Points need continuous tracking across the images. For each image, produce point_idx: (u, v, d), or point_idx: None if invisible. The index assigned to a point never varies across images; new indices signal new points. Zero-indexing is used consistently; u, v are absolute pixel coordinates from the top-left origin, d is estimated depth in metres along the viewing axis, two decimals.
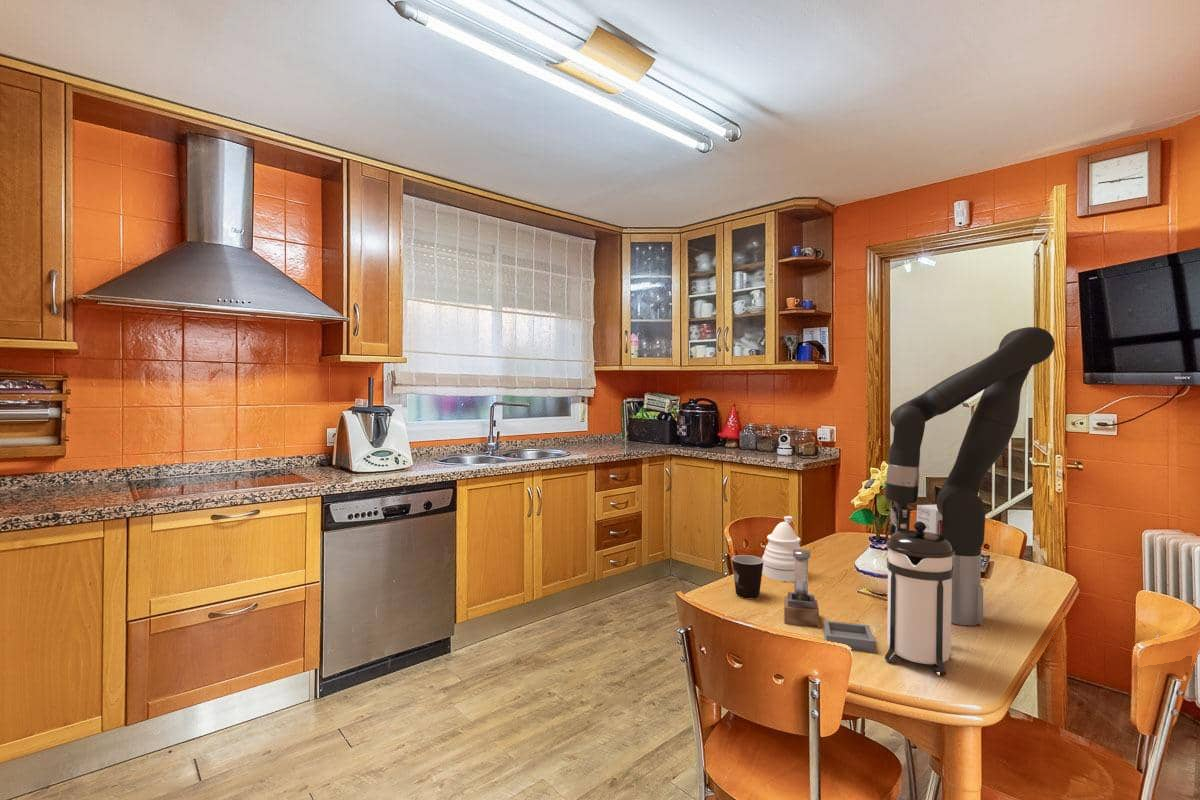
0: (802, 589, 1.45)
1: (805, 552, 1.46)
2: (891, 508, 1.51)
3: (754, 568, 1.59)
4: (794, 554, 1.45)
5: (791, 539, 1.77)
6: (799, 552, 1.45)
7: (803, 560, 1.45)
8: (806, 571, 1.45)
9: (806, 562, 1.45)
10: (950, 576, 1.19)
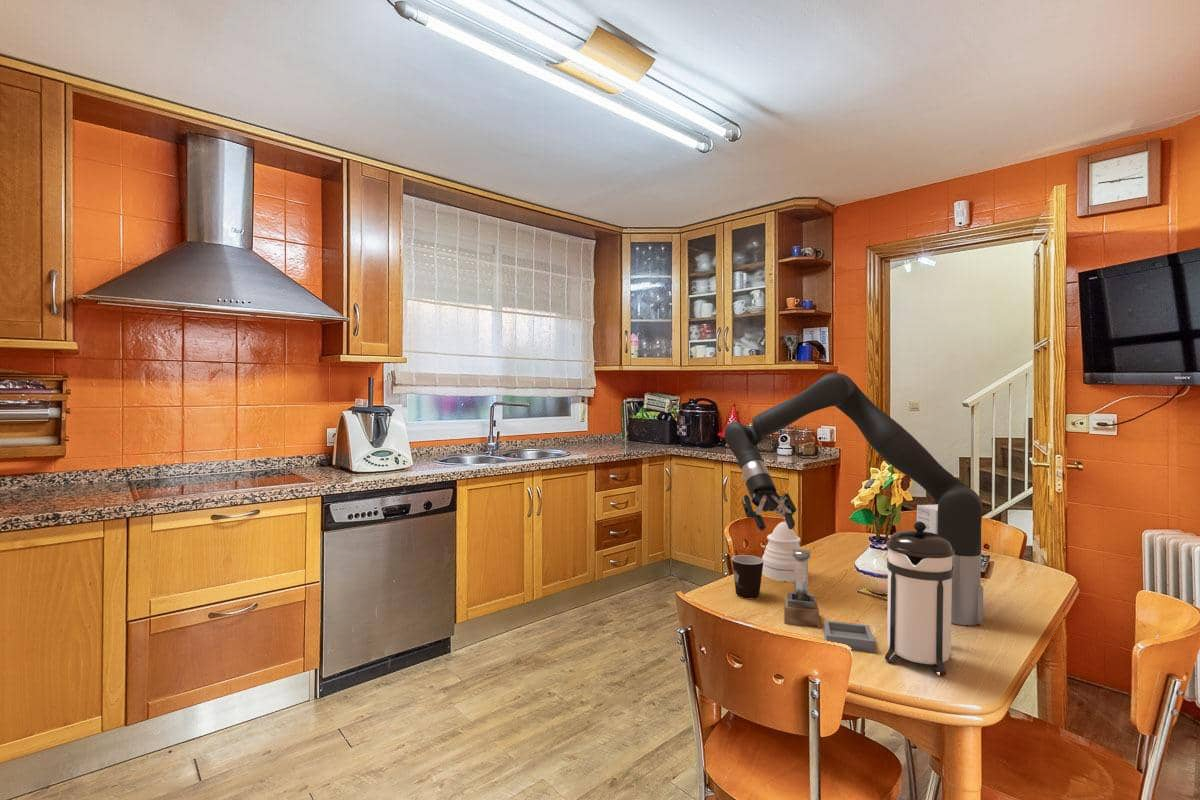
0: (801, 589, 1.45)
1: (805, 552, 1.46)
2: None
3: (754, 568, 1.59)
4: (794, 554, 1.45)
5: (791, 539, 1.77)
6: (799, 552, 1.45)
7: (803, 560, 1.45)
8: (806, 571, 1.45)
9: (806, 562, 1.45)
10: (950, 576, 1.19)
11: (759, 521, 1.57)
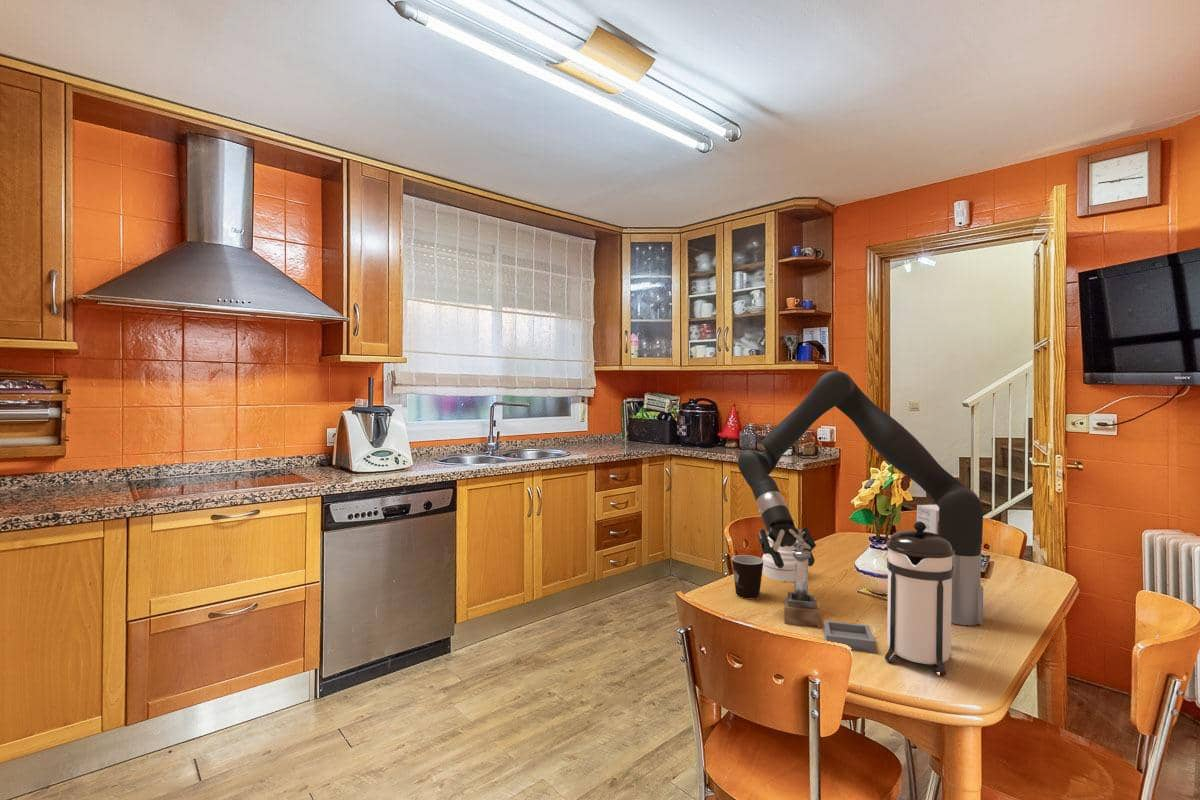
0: (801, 589, 1.45)
1: (805, 552, 1.46)
2: None
3: (754, 568, 1.59)
4: (794, 554, 1.45)
5: None
6: (799, 552, 1.45)
7: (803, 560, 1.45)
8: (806, 571, 1.45)
9: (806, 562, 1.45)
10: (950, 576, 1.19)
11: (777, 558, 1.48)
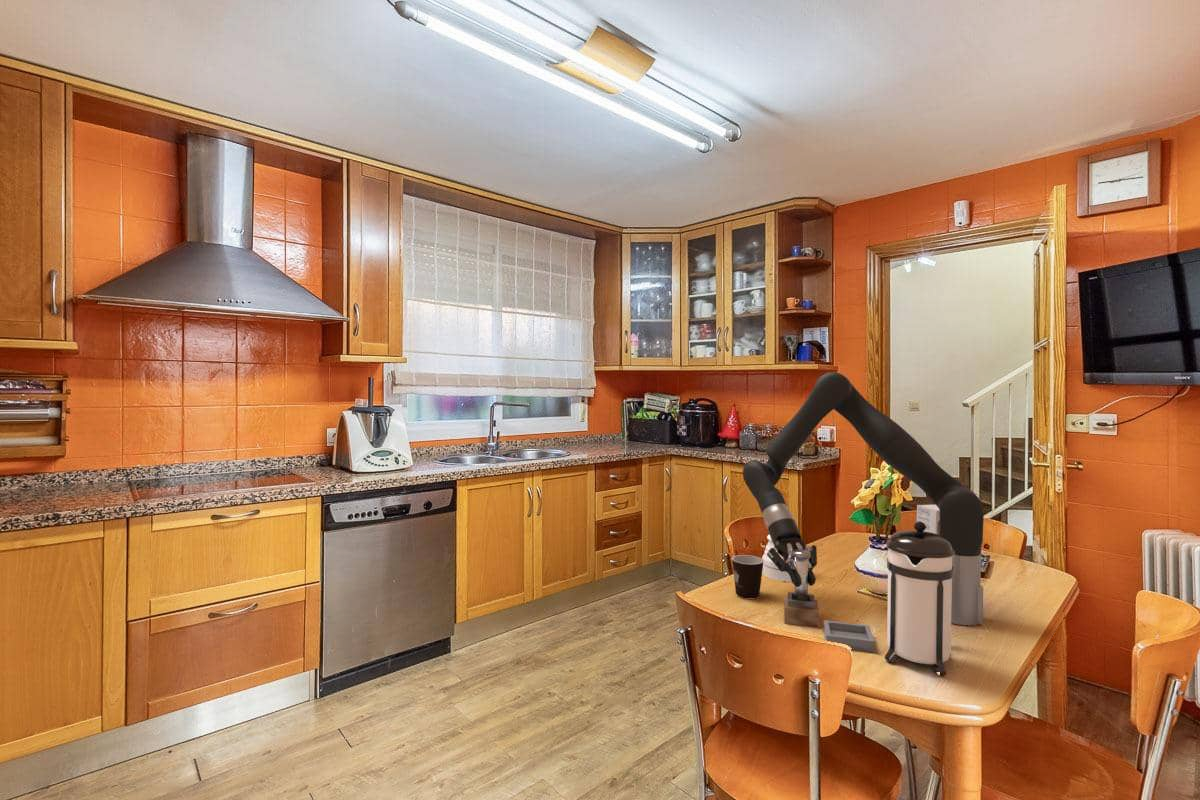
0: (801, 589, 1.45)
1: (805, 552, 1.46)
2: None
3: (754, 568, 1.59)
4: (794, 554, 1.45)
5: None
6: (799, 552, 1.45)
7: (803, 560, 1.45)
8: (806, 571, 1.45)
9: (806, 562, 1.45)
10: (950, 576, 1.19)
11: (794, 576, 1.45)
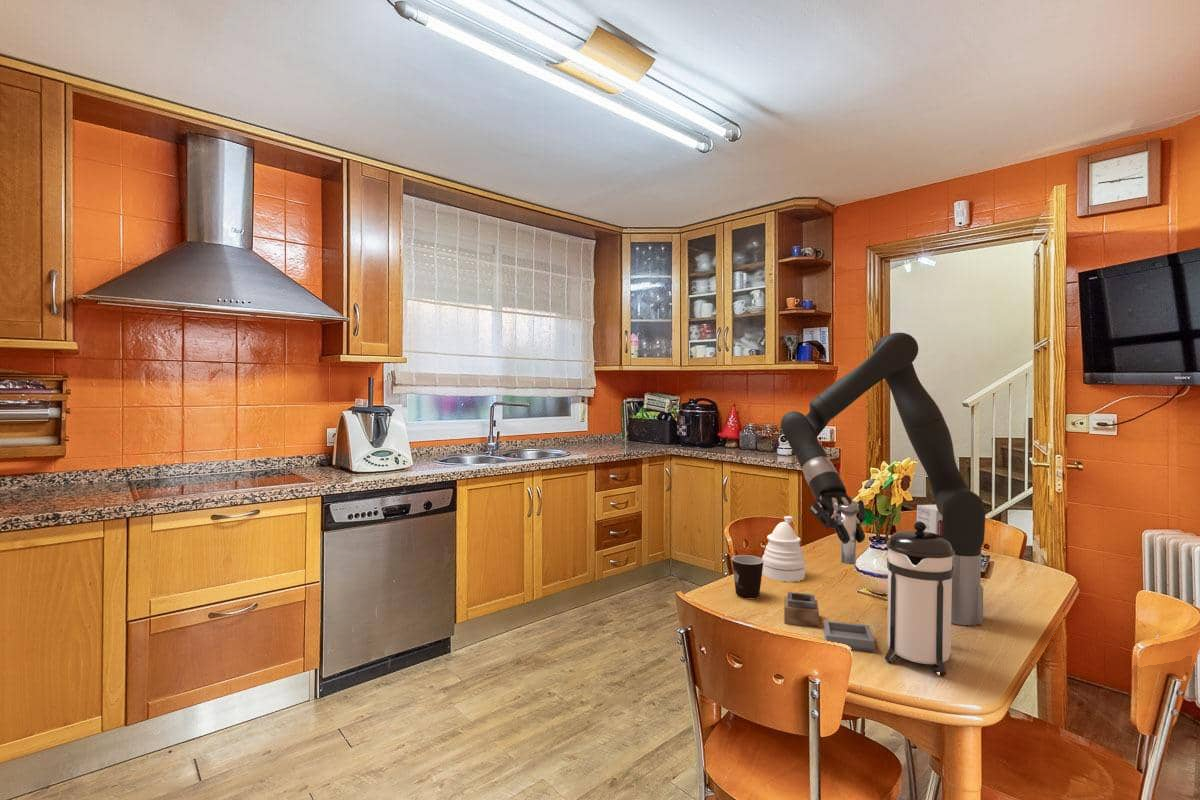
0: (849, 546, 1.32)
1: (852, 505, 1.33)
2: None
3: (754, 568, 1.59)
4: (841, 508, 1.33)
5: (791, 539, 1.77)
6: (846, 506, 1.33)
7: (851, 514, 1.32)
8: (854, 526, 1.32)
9: (854, 516, 1.32)
10: (950, 576, 1.19)
11: (841, 532, 1.32)
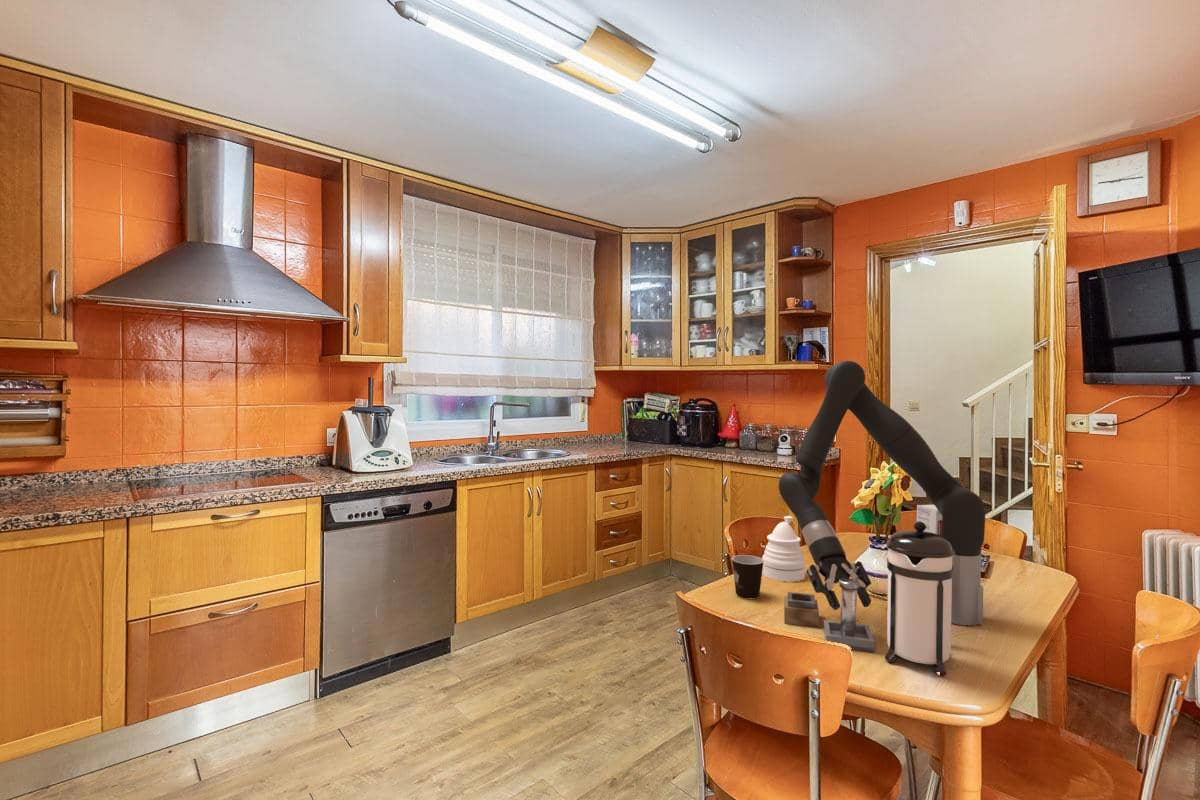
0: (849, 622, 1.32)
1: (853, 582, 1.33)
2: None
3: (754, 568, 1.59)
4: (842, 584, 1.33)
5: (791, 539, 1.77)
6: (847, 582, 1.33)
7: (851, 591, 1.32)
8: (854, 603, 1.32)
9: (854, 593, 1.32)
10: (950, 576, 1.19)
11: (832, 598, 1.32)
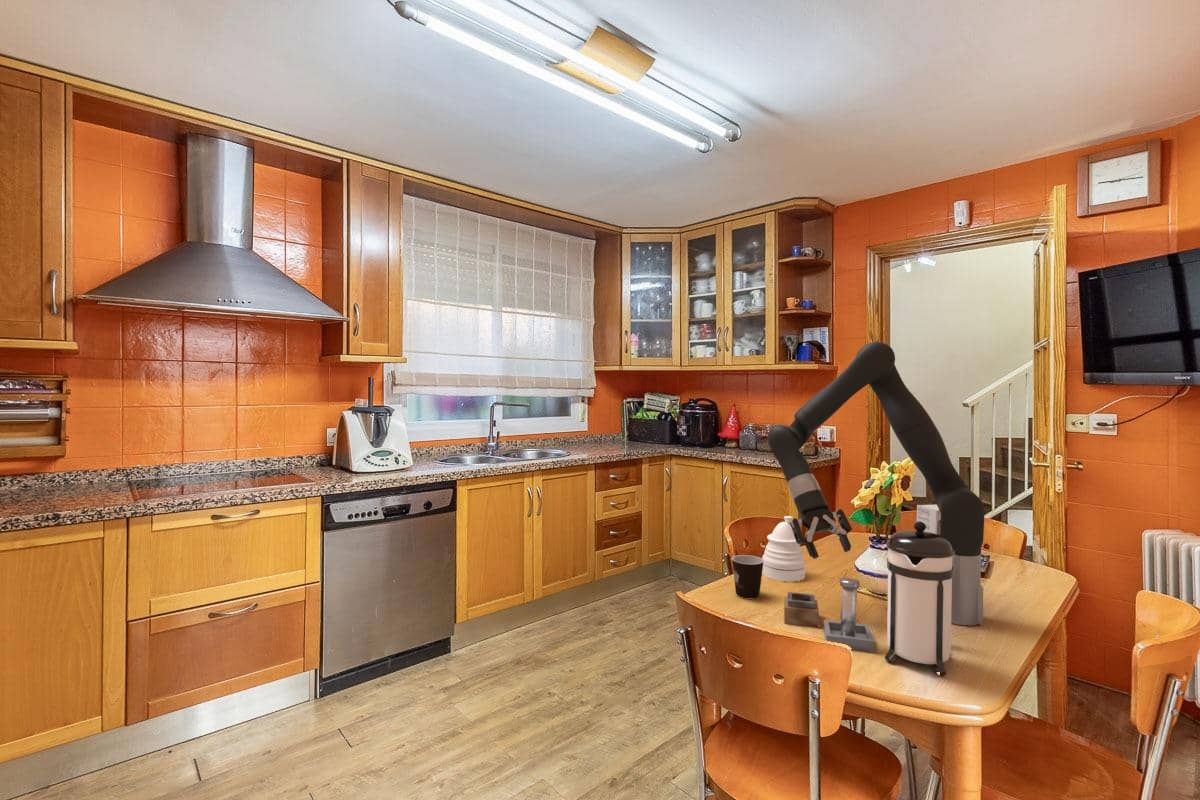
0: (849, 622, 1.33)
1: (853, 581, 1.34)
2: None
3: (754, 568, 1.59)
4: (842, 583, 1.33)
5: (791, 539, 1.77)
6: (847, 581, 1.33)
7: (852, 590, 1.32)
8: (855, 602, 1.33)
9: (855, 592, 1.33)
10: (950, 576, 1.19)
11: (811, 549, 1.44)
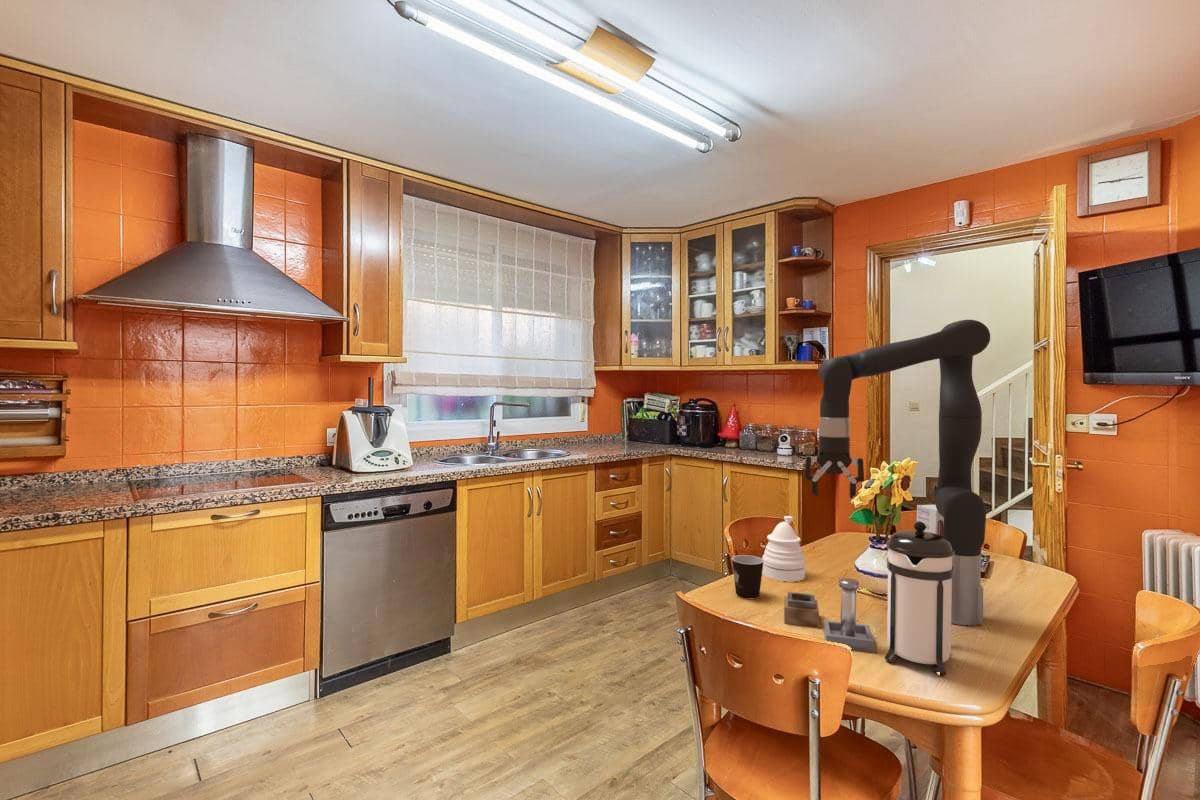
0: (849, 622, 1.32)
1: (852, 581, 1.33)
2: None
3: (754, 568, 1.59)
4: (841, 584, 1.33)
5: (791, 539, 1.77)
6: (847, 582, 1.33)
7: (851, 591, 1.32)
8: (854, 603, 1.32)
9: (854, 593, 1.32)
10: (950, 576, 1.19)
11: (813, 488, 1.52)
